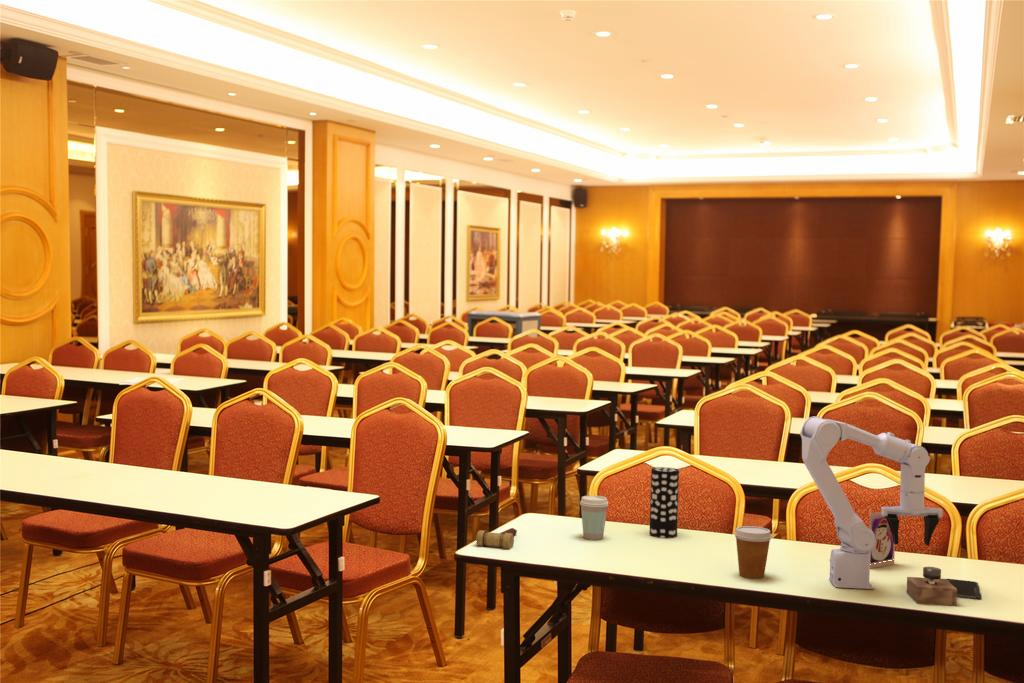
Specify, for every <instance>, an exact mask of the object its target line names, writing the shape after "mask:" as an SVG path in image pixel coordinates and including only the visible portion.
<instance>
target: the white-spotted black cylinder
mask: <svg viewBox="0 0 1024 683" xmlns="http://www.w3.org/2000/svg"><path fill="white" fill-rule="evenodd" d="M650 470H651V471H650V473H651V474H650V501H649V502H650V509H649V535H650V536H651V537H654V538H659V539H674V538H676V537H677V536H678V520H679V517H678V514H679V491H680V490H679V489H680V488H679V487H680V486H679V485H680V484H679V483H680V470H679V469H678V468H674V467H665V466H663V467H662V466H661V467H660V466H659V467H651V469H650Z"/></svg>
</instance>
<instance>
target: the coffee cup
mask: <svg viewBox="0 0 1024 683" xmlns="http://www.w3.org/2000/svg"><path fill="white" fill-rule="evenodd" d="M579 504H580V509H581V510H580V512H581V524H582V533H583V534H582V536H583V538H584V539H586V540H588V541H589V540H590V541H599V540H603V539H604V536H605V535H604V533H605V526H606V520H607V513H608V506H609V501H608V498H607V497H606V496H603V495H594V494H593V495H584V496H581V500H580V501H579Z"/></svg>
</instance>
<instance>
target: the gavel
mask: <svg viewBox="0 0 1024 683" xmlns="http://www.w3.org/2000/svg"><path fill="white" fill-rule="evenodd" d="M517 532H518V530H517V529H516V528H514V527H512V528H507V529H506V530H504V531H502V532H499V533H498V532H490V531H489V532H487V530H481V529H480V530H478V532H477V533H476V538H475V544H476V546H477V547H491V548H503V549H504V550H511V549H512V548H513V547H514V545H515V536H517ZM476 541H477V542H476Z"/></svg>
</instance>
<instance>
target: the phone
mask: <svg viewBox="0 0 1024 683" xmlns="http://www.w3.org/2000/svg"><path fill="white" fill-rule="evenodd" d="M945 579H946V580H947V581H948V582H949V583H951V584H952V585H953V586H954V587H955V588H957V599H958V598H960V599H968V600H976V601H979V600H981V598H982V594H981V591H980V585H979V582H977V581H972V580H965V579H964V580H963V579H955V578H945Z"/></svg>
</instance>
